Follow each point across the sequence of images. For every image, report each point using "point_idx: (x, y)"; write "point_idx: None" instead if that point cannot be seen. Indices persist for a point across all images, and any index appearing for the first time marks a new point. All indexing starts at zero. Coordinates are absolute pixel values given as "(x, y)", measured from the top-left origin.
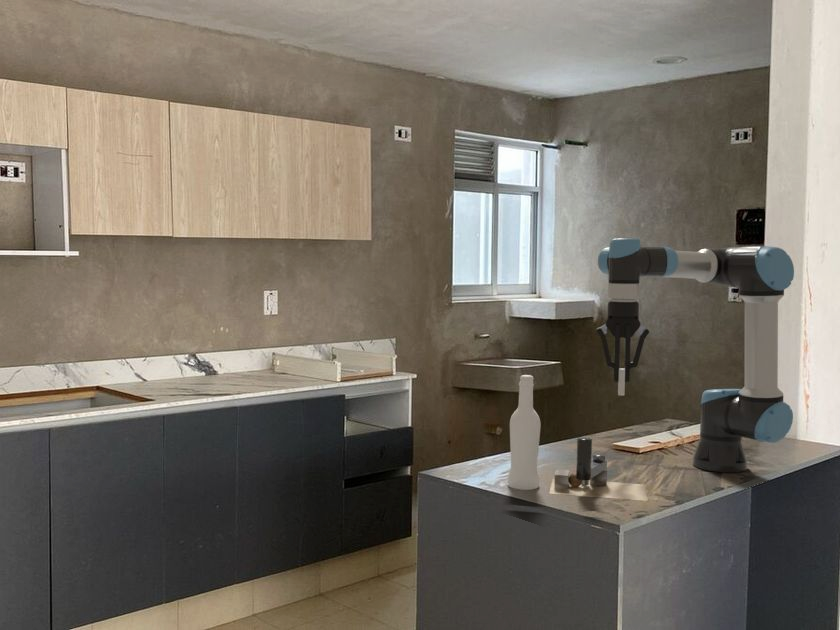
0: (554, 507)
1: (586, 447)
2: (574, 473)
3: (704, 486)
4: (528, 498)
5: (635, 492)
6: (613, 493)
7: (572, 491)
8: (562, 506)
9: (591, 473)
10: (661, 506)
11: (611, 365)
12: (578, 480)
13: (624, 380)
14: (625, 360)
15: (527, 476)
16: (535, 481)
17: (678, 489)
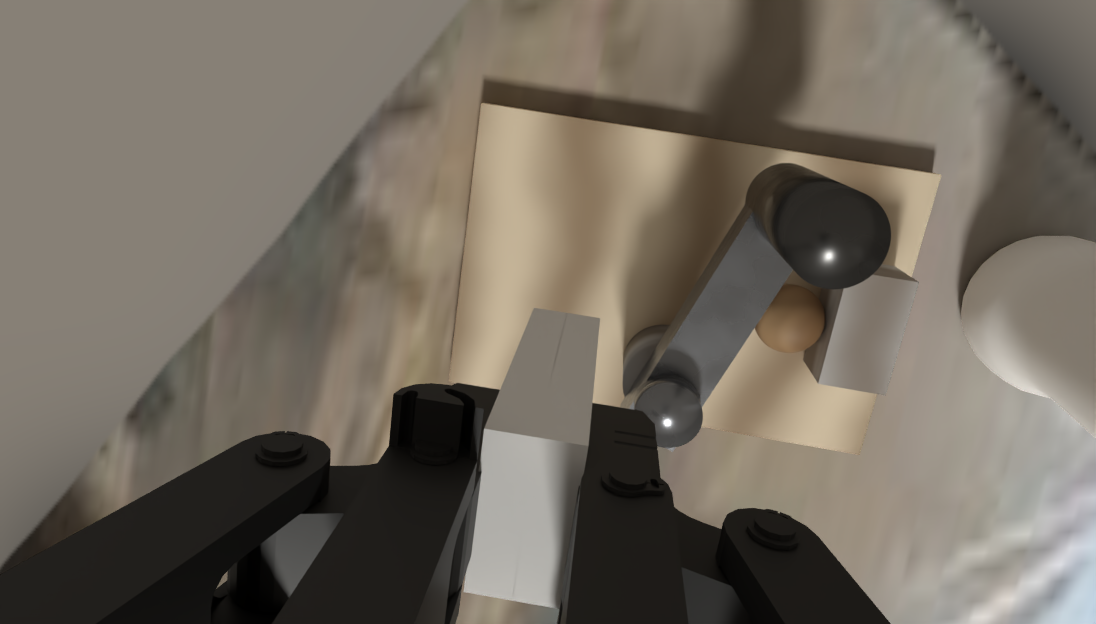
0: (941, 12)
1: (823, 182)
2: (802, 323)
3: (198, 436)
4: (1039, 158)
5: (513, 242)
6: (619, 212)
7: None
8: (896, 36)
9: (742, 218)
10: (425, 101)
11: (717, 540)
12: (781, 288)
13: (515, 363)
14: (443, 524)
15: (1074, 256)
16: (1011, 263)
17: (310, 381)
